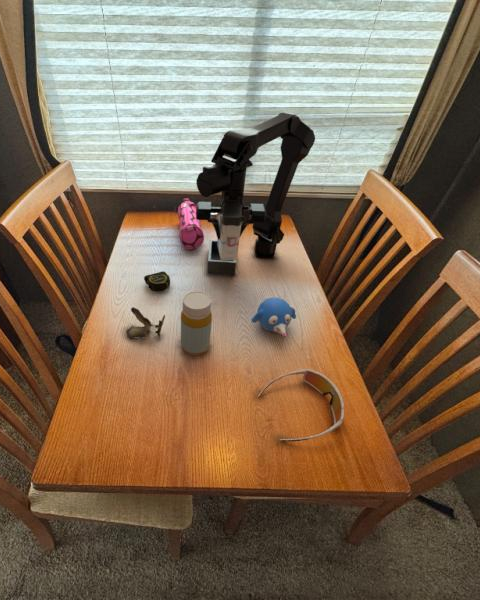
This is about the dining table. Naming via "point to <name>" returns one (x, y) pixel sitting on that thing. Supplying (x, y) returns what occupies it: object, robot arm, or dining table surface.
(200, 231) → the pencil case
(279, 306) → the blue mole toy
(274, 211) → the robot arm
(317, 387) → the sunglasses
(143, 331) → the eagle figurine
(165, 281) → the tape measure
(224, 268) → the holder
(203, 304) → the bottle
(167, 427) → the dining table surface
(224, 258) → the ink box
